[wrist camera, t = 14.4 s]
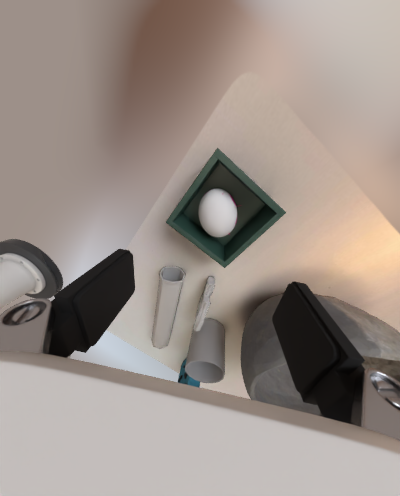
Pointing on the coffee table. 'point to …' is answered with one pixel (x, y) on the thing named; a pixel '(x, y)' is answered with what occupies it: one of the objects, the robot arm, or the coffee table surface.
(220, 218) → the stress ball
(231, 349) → the coffee table surface
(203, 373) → the cup
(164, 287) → the tube
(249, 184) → the bin
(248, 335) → the bowl
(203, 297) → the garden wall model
